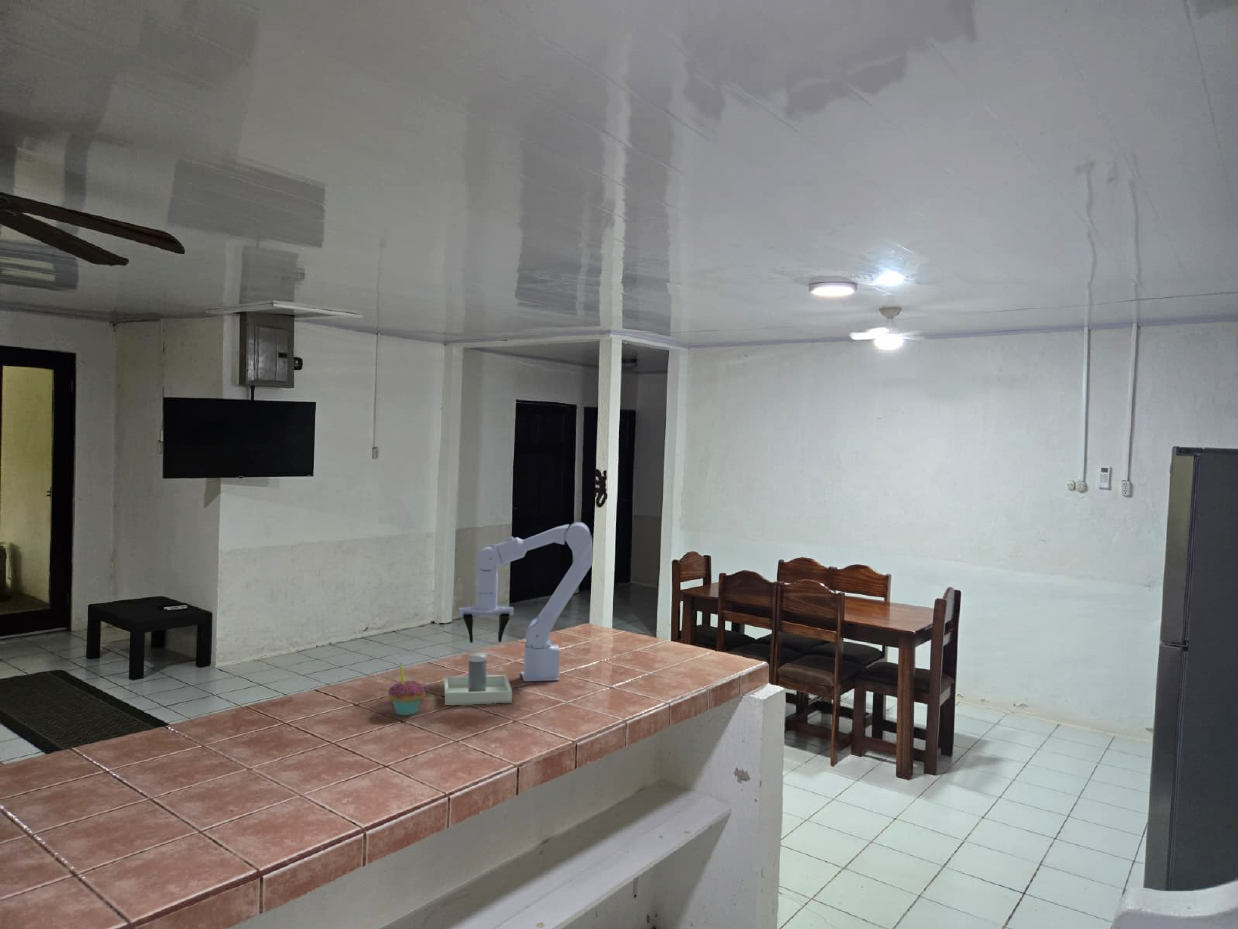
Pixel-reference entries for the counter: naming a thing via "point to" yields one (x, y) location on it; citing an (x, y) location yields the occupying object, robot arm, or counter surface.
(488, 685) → the tray
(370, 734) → the counter surface
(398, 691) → the cupcake
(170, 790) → the counter surface
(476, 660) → the cylinder
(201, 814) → the counter surface
